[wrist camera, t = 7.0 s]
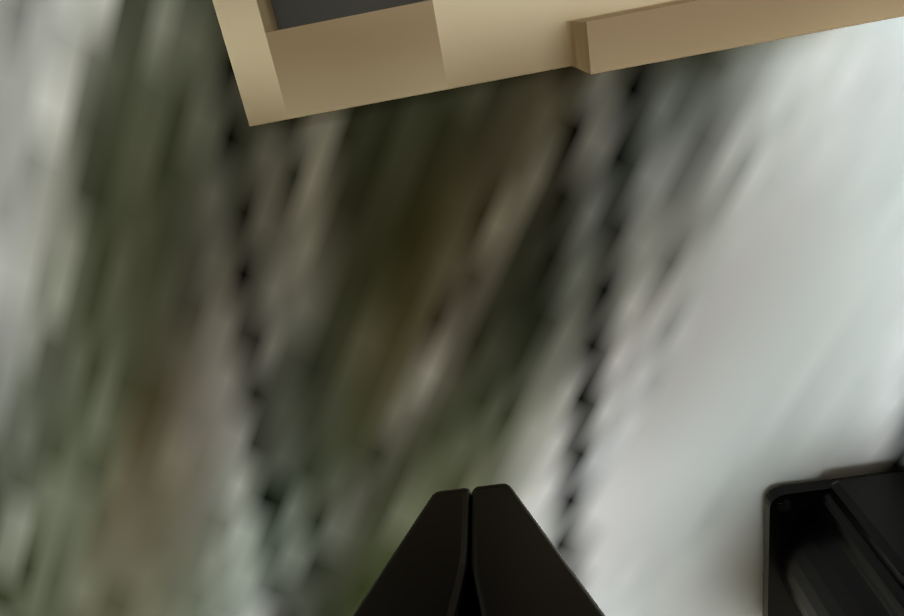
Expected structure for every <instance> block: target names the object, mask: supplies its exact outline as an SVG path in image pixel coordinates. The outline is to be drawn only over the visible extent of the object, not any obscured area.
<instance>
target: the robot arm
mask: <svg viewBox="0 0 904 616" xmlns="http://www.w3.org/2000/svg"><path fill="white" fill-rule="evenodd" d="M784 500H786V501H785V502H784V503H781V504H779V503H780V502H781V501H784ZM353 616H605V615H604V613H603V612H602V611H601V609H600V608H599V607H598V605H597V604H596V603H595V601H594V600H593V598H592V597H591V596H590V594H589V593H588V592H587V590H586V589H585V588H584V586H583V585H582V583H581V582H580V581H579V579H578V578H577V577H576V575H575V574H574V573H573V571H572V570H571V568H570V567H569V566H568V564H567V563H566V562H565V560H564V559H563V557H562V556H561V555H560V553H559V552H558V551H557V549H556V548H555V547H554V545H553V544H552V542H551V541H550V540H549V538H548V537H547V536H546V534H545V533H544V532H543V530H542V529H541V527H540V526H539V525H538V523H537V522H536V521H535V519H534V518H533V517H532V515H531V514H530V512H529V511H528V510H527V508H526V507H525V506H524V504H523V503H522V501H521V500H520V499H519V497H518V496H517V495H516V493H515V492H514V491H513V489H512V488H511V487H510V486H509V485H507V484H496V485H487V486H479V487H476V488H475V489H474V490H473V492H472V493H471V491H470V490H469V489H467V488H462V489H454V490H445V491H439V492H436V493H435V494H433V495H432V497H431V498H430V500H429V501H428V503H427V504H426V506H425V507H424V509H423V510H422V512H421V513H420V515H419V516H418V518H417V519H416V521H415V522H414V524H413V525H412V527H411V528H410V530H409V532H408V533H407V535H406V536H405V538H404V539H403V541H402V542H401V544H400V545H399V547H398V548H397V550H396V551H395V553H394V554H393V556H392V557H391V559H390V560H389V562H388V563H387V565H386V566H385V568H384V569H383V571H382V572H381V574H380V575H379V577H378V578H377V580H376V581H375V583H374V584H373V586H372V588H371V589H370V591H369V592H368V594H367V595H366V597H365V598H364V600H363V601H362V603H361V604H360V606H359V607H358V609H357V610H356V612H355V613H354V615H353ZM763 616H904V470H898V471H891V472H884V473H876V474H869V475H861V476H854V477H847V478H839V479H832V480H824V481H817V482H810V483H802V484H795V485H787V486H780V487H777V488H774V489H772V490H771V491H769V492H768V494H767V495H766V497H765V516H764V579H763Z"/></svg>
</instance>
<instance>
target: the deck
mask: <svg viewBox="0 0 904 616" xmlns="http://www.w3.org/2000/svg"><path fill="white" fill-rule="evenodd" d="M212 1H213V4H214V8H215V11H216V14H217V18H218V21H219V24H220V28H221V31H222V35H223V38H224V41H225V45H226V48H227V51H228V55H229V58H230V62H231V65H232V68H233V72H234V75H235V78H236V82H237V85H238V89H239V92H240V95H241V99H242V102H243V105H244V109H245V112H246V116H247V119H248V122H249V126H255V125H261V124H266V123H271V122H277V121H282V120H287V119H292V118H298V117H303V116H308V115H314V114H319V113H324V112H330V111H335V110H340V109H346V108H351V107H356V106H362V105H367V104H372V103H378V102H383V101H388V100H394V99H399V98H404V97H409V96H415V95H420V94H425V93H431V92H436V91H441V90H447V89H452V88H457V87H463V86H468V85H473V84H479V83H484V82H489V81H495V80H500V79H505V78H511V77H516V76H521V75H526V74H532V73H537V72H542V71H548V70H553V69H558V68H564V67H569V66H573V67H575V68H577V69H580V70H582V71H584V72H587V73H589V74H596V73H602V72H607V71H612V70H618V69H623V68H628V67H634V66H639V65H644V64H650V63H655V62H660V61H666V60H671V59H677V58H682V57H687V56H693V55H698V54H703V53H709V52H714V51H719V50H725V49H730V48H736V47H741V46H746V45H752V44H757V43H762V42H768V41H773V40H778V39H784V38H789V37H794V36H800V35H805V34H811V33H816V32H821V31H827V30H832V29H837V28H843V27H848V26H853V25H859V24H864V23H869V22H875V21H880V20H886V19H891V18H896V17H902V16H904V0H212Z"/></svg>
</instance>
